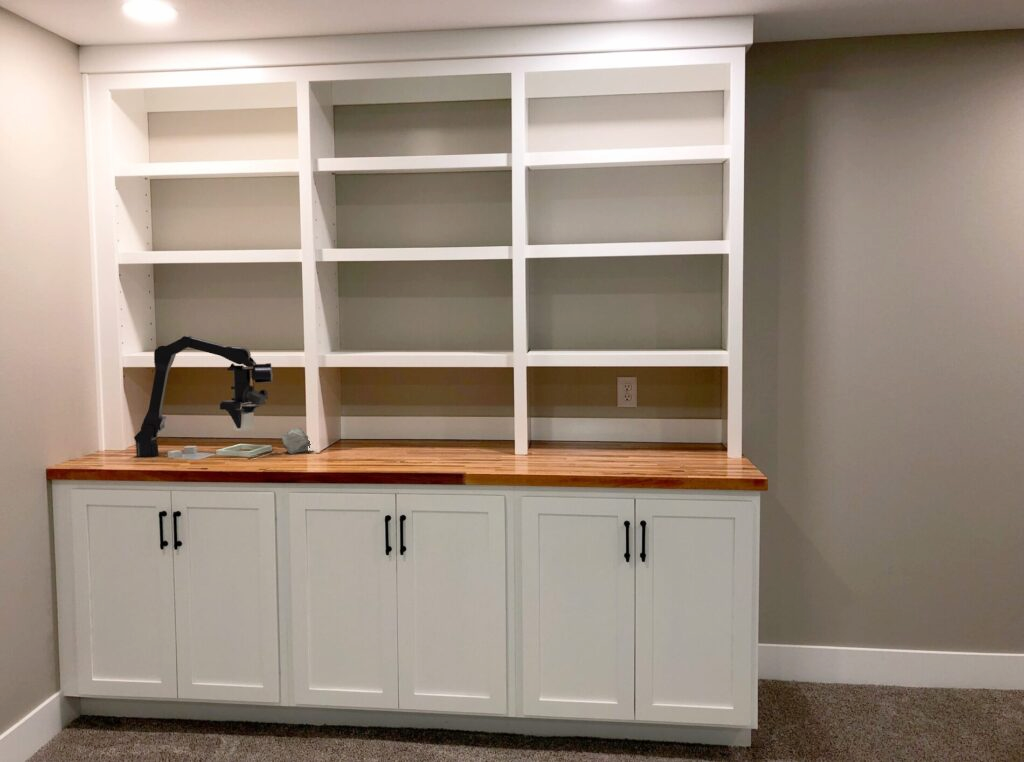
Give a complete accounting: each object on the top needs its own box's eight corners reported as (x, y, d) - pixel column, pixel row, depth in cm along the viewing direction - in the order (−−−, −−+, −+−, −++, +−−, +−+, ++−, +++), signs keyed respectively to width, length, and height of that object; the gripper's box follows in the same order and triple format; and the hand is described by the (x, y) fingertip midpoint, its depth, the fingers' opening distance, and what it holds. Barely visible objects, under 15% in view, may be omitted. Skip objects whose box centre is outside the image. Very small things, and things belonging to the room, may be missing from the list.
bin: (216, 457, 294) (216, 450, 293) (240, 450, 307) (239, 443, 306) (249, 459, 290) (249, 452, 289) (272, 452, 302) (272, 445, 302)
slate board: (165, 460, 288) (165, 451, 288) (189, 454, 299) (188, 445, 299) (196, 462, 284) (196, 453, 284) (219, 456, 296) (219, 447, 295)
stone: (300, 422, 306) (285, 426, 297) (319, 441, 305) (305, 445, 295) (285, 441, 308) (270, 445, 299) (304, 460, 307) (290, 464, 297)
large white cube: (233, 430, 296) (232, 413, 295) (241, 428, 300) (241, 411, 300) (245, 431, 294) (245, 414, 293) (254, 429, 299) (253, 412, 298)
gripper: (245, 386, 284) (247, 432, 286) (277, 381, 302) (278, 424, 304) (217, 385, 288) (219, 430, 289) (250, 380, 305) (251, 422, 307)
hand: (243, 427), depth 297 cm, fingers closed on large white cube, 5 cm apart
